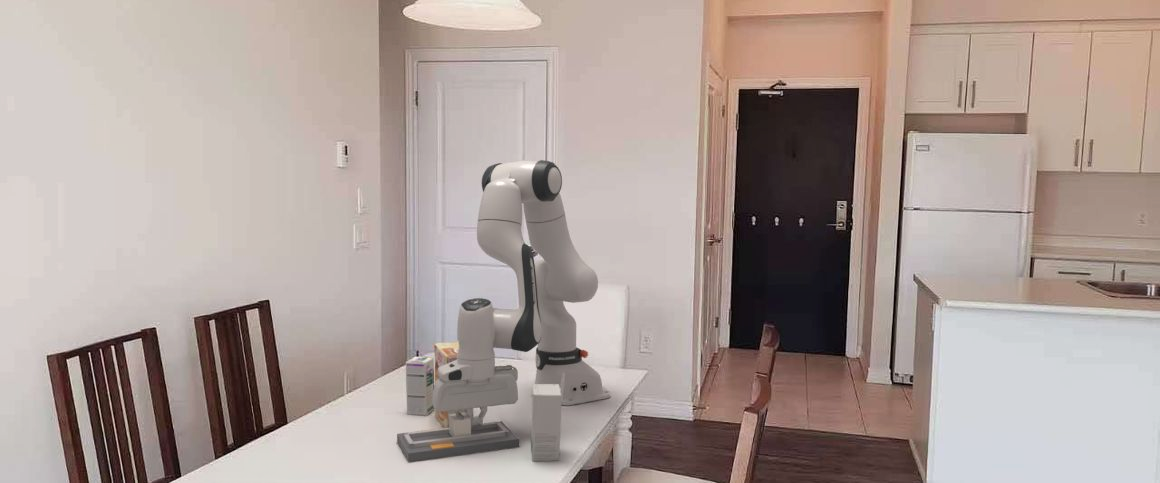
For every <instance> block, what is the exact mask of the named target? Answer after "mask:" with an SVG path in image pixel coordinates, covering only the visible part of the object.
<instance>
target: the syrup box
mask: <svg viewBox="0 0 1160 483" xmlns="http://www.w3.org/2000/svg"><path fill="white" fill-rule="evenodd" d="M405 383H406V384H405V387H406V393H405V394H406V414H407V415H411V416H424V417H425V416H428V415H429V414H430V413H432V412H434V411H435V408H434V406H433V391H434V385H435V357H431V356H414V357H412V358H411V359H408V360H407V361H405Z"/></svg>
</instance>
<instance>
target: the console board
mask: <svg viewBox="0 0 1160 483" xmlns="http://www.w3.org/2000/svg"><path fill="white" fill-rule="evenodd" d="M520 441H521V440H520V438H519V437H518V436H517V434H515V433H514V431H512V430H511V428H510V427H508V426H507V425H506V424H505V423H504V422H503V421H502V420H500V421H499V420H498V421H492V422H483V425H479V426H471V435H464V436H456V437H452V436H451V435H450V433H449V428H443V427H442V428H431V429H422V430H416V431H409V432H401V433H397V434H396V442H397V445H398V446H399V448H400V449H401V451H402V453H403V455H404V457H405V459H406V461H407V462H408V463H412V462H413V463H414V462H419V461H426V460H434V459H441V458H442V459H443V458H449V457H456V456H462V455H464V456H465V455H471V454H472V455H473V454H477V453H478V454H479V453H486V452H493V451H500V450H508V449H515V448H520V447H521V446H520V445H521V444H520V443H521V442H520Z"/></svg>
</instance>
